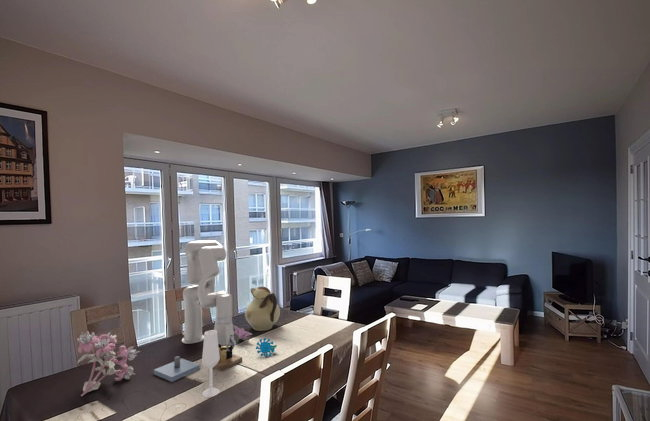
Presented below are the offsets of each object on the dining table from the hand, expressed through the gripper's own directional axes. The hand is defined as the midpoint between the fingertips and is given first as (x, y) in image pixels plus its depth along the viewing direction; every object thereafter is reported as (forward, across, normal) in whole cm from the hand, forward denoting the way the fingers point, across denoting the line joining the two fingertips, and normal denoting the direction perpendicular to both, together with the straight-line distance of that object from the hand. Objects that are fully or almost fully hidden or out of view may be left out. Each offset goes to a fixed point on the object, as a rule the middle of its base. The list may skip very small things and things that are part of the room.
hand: (224, 356), depth 155 cm
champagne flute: (+3, +17, -21) cm, 27 cm away
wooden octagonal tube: (+1, 0, 0) cm, 1 cm away
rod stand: (+3, 0, 0) cm, 3 cm away
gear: (+3, +11, +18) cm, 21 cm away
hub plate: (+3, -12, -17) cm, 21 cm away
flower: (+3, -27, -38) cm, 47 cm away
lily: (+3, -14, +24) cm, 28 cm away
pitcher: (+3, -20, +49) cm, 53 cm away
